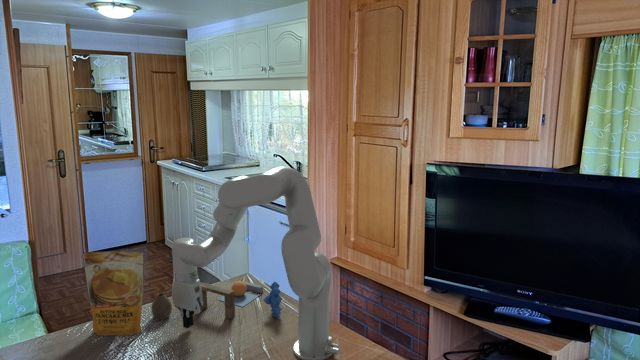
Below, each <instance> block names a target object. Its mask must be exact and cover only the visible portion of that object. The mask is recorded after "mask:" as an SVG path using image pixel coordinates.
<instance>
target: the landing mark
mask: <svg viewBox="0 0 640 360" xmlns="http://www.w3.org/2000/svg"><path fill="white" fill-rule="evenodd" d="M258 294H259V293H258ZM258 294H256V293H252V294H251V293H245V294H244V295H243V296H240V297H238V296H235V295H234V300H235V306H237V307H241V308H244V307H246V306H247V305H249V304H250V303H251V302H253V301H254V300H256V299H257V298H259V297H260V296H261V295H260V294H261V293H260V294H259V295H258ZM258 296H259V297H258ZM217 300H218V301H220V302H223V303H225V297H224V296H223V295H222V297H220V298H218V299H217Z"/></svg>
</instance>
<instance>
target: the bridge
mask: <svg viewBox="0 0 640 360" xmlns="http://www.w3.org/2000/svg"><path fill="white" fill-rule="evenodd" d="M200 283H201V288H202V294H203V306H200V310H201V312H202V311H203V310H206V309H207V308H208V292H210V293H212V294H217V295H220V296H222V297H223V296H224V297H225V302H224V318H225V319H227V320H231V319H232V318H234V317H235V316H236V311H235V310H236V305H235V300H234V291H233V290H231V288H226V287H221V286H219V285H218V286H217V285H215V284H211V283H207V282H203V281H202V282H201V281H200Z"/></svg>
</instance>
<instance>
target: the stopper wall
mask: <svg viewBox="0 0 640 360" xmlns="http://www.w3.org/2000/svg"><path fill="white" fill-rule="evenodd" d="M242 282H244V283H245V284H246V286H247V291H248V290H251V292H252V291H254V292H257V293H258V294H259V293H260V294H261V292H262V293H263V292H264V285H260V284H256V283H253V282H250V281H245V280H242Z"/></svg>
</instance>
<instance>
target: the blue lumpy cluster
mask: <svg viewBox="0 0 640 360" xmlns="http://www.w3.org/2000/svg"><path fill="white" fill-rule="evenodd" d="M279 287H280V284H279V283H278V282H277V281H273V282H272V283H271V285H270V286H269V288H270V289H271V290H270V292H269V294H267V295H265V297H264V298H263V302H264V303H265V304H266V305H269V306H270V308H271V309H270V311H271V315H272V316H273V317H274V318H279V317H280V315H281V314H282V307H280V304H281V303H282V300H283V298H282V296H281V295H280V293H281V290H280V288H279Z"/></svg>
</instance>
